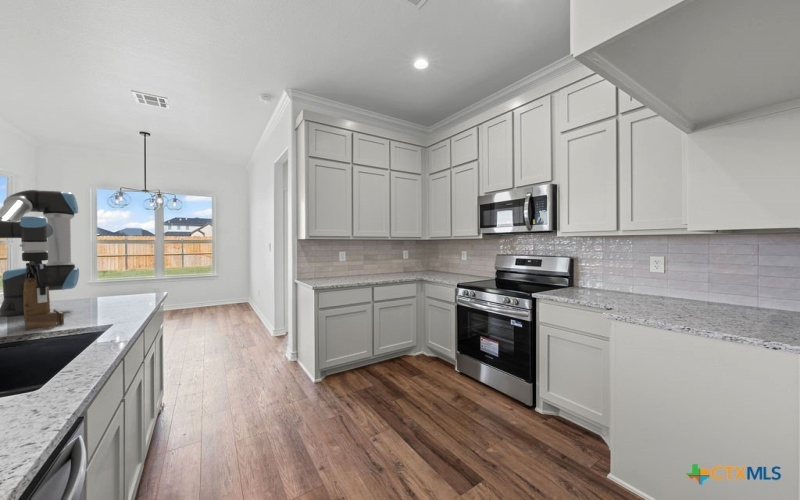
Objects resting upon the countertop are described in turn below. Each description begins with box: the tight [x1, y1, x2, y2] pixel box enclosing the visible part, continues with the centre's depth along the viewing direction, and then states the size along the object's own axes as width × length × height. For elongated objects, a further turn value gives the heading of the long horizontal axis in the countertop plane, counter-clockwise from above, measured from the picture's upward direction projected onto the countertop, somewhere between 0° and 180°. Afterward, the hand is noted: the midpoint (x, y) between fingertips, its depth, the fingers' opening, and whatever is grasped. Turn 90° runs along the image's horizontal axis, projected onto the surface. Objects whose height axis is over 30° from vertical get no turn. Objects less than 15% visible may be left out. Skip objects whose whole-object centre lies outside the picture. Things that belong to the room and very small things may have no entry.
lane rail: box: [52, 308, 65, 325], centre depth 146 cm, size 14×1×5 cm, turn 57°
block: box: [23, 278, 51, 320], centre depth 139 cm, size 11×8×20 cm
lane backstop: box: [24, 312, 58, 332], centre depth 136 cm, size 1×9×6 cm, turn 147°
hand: (37, 301), depth 139 cm, fingers closed on block, 11 cm apart
